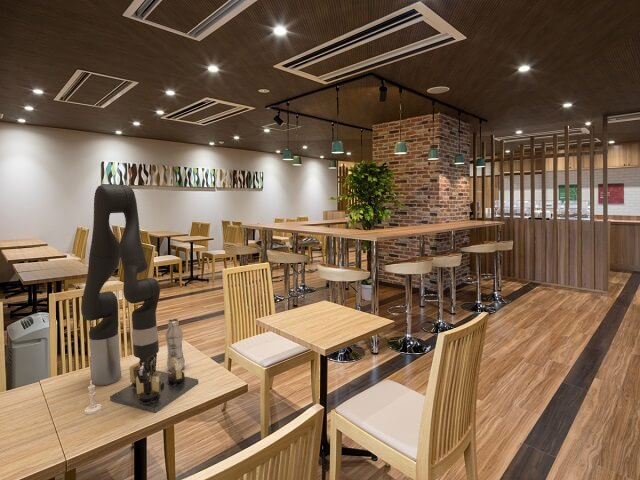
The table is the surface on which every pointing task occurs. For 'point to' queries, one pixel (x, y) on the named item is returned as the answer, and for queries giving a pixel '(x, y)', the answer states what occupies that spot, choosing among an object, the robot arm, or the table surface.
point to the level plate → (164, 398)
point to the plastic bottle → (174, 342)
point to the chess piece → (92, 402)
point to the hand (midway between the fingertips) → (149, 389)
